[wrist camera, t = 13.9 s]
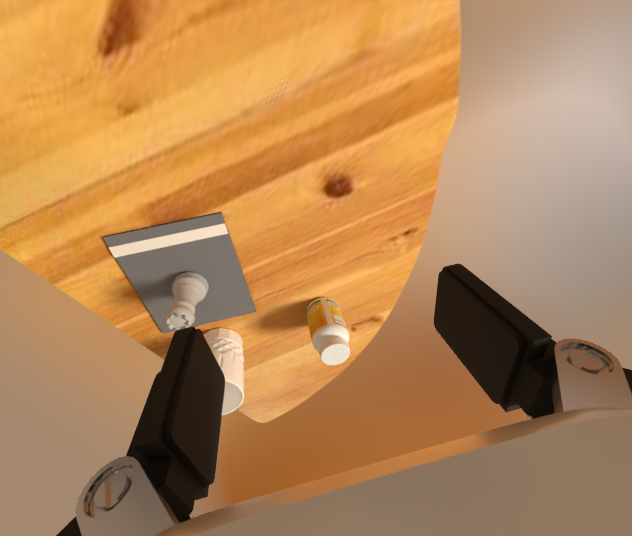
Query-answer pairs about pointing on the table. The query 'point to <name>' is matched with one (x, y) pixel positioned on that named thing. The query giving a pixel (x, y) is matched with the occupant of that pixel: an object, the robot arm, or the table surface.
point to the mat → (184, 267)
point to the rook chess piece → (185, 300)
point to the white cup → (229, 365)
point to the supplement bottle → (328, 330)
